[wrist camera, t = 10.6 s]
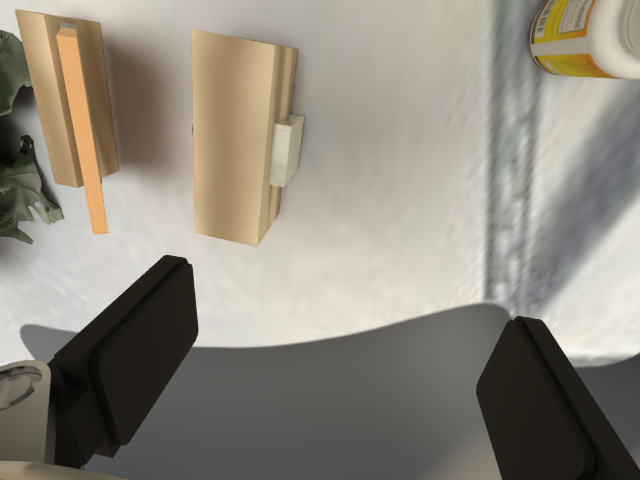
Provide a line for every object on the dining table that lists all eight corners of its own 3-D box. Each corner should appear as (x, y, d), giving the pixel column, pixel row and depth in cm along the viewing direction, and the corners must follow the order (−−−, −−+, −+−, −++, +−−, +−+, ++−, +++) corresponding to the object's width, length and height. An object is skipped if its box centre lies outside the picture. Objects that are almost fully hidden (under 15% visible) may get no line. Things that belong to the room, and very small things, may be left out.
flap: (78, 33, 16) (52, 29, 16) (110, 235, 22) (92, 237, 21) (77, 25, 23) (59, 22, 23) (102, 180, 29) (88, 180, 28)
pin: (304, 116, 27) (291, 126, 23) (297, 169, 29) (283, 187, 25) (207, 97, 27) (176, 103, 23) (206, 150, 29) (178, 164, 25)
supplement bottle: (623, 55, 22) (791, 49, 13) (531, 88, 24) (624, 103, 15) (623, -44, 20) (821, -130, 11) (521, 0, 22) (623, -45, 13)
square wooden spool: (297, 49, 25) (274, 45, 19) (278, 213, 31) (257, 246, 26) (73, 6, 26) (-13, -11, 20) (100, 174, 32) (41, 198, 27)
